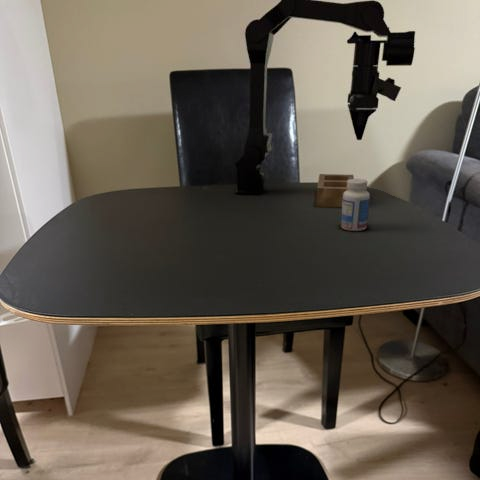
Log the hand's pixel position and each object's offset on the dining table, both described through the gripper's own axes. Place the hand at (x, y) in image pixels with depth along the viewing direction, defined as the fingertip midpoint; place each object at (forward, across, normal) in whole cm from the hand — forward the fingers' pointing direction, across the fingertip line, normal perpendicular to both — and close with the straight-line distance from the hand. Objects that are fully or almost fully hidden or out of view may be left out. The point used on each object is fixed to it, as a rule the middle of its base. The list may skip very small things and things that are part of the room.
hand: (358, 137), depth 119 cm
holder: (+14, -4, +4) cm, 16 cm away
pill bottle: (+15, -28, +1) cm, 32 cm away
